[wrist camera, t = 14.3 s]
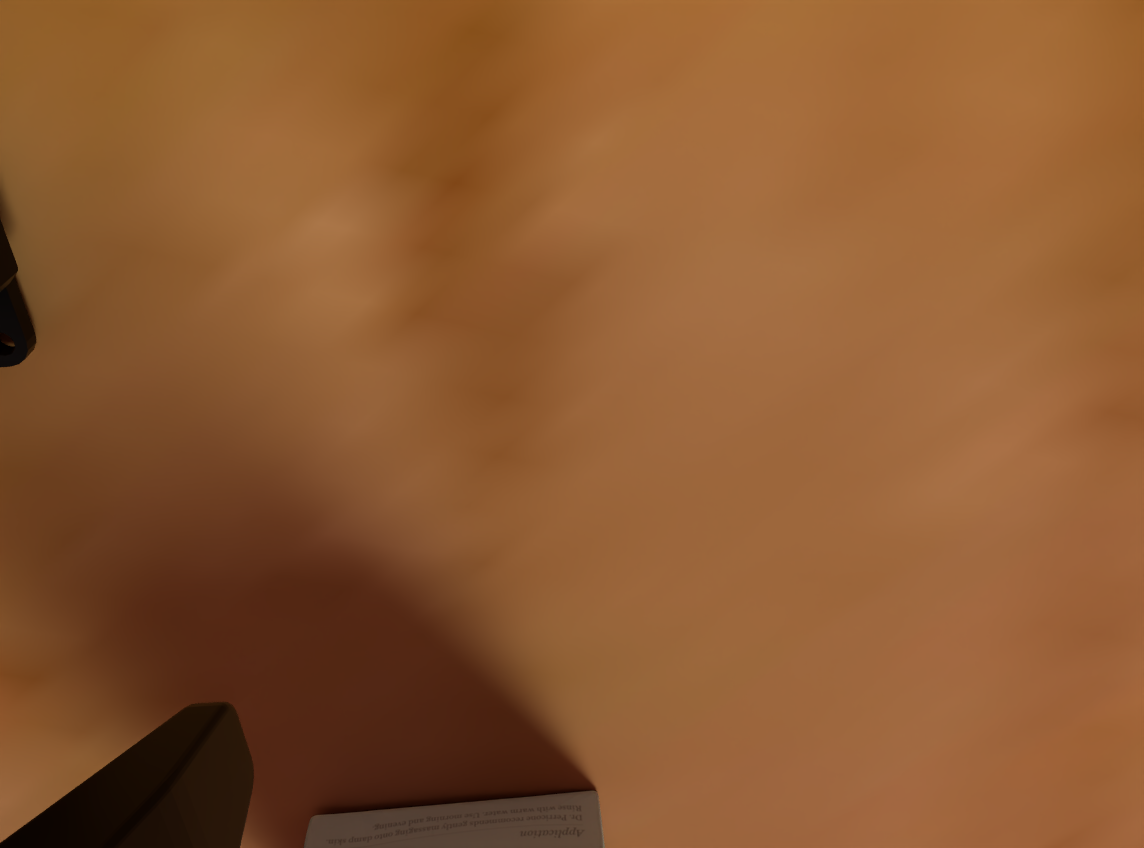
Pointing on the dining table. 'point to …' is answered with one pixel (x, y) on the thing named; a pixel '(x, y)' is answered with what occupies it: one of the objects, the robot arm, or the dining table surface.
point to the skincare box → (468, 825)
